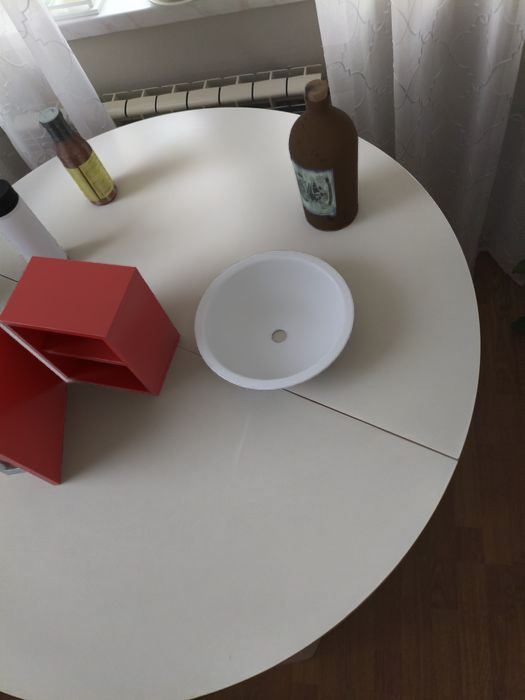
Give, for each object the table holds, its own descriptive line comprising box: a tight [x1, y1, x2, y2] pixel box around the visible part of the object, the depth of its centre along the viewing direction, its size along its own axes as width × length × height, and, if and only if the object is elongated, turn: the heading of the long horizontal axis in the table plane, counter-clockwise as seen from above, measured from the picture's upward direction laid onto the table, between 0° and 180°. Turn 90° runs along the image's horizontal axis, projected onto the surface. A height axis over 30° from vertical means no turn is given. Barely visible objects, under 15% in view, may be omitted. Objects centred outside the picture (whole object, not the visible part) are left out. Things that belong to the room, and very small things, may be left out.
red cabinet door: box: [0, 326, 68, 486], centre depth 79 cm, size 6×17×19 cm, turn 6°
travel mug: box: [0, 178, 70, 264], centre depth 96 cm, size 6×7×20 cm
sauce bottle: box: [37, 106, 117, 206], centre depth 102 cm, size 7×6×20 cm
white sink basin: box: [193, 250, 355, 391], centre depth 85 cm, size 24×24×7 cm
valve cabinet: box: [0, 256, 182, 397], centre depth 83 cm, size 11×17×19 cm, turn 75°
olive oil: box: [287, 78, 359, 232], centre depth 87 cm, size 11×11×25 cm
